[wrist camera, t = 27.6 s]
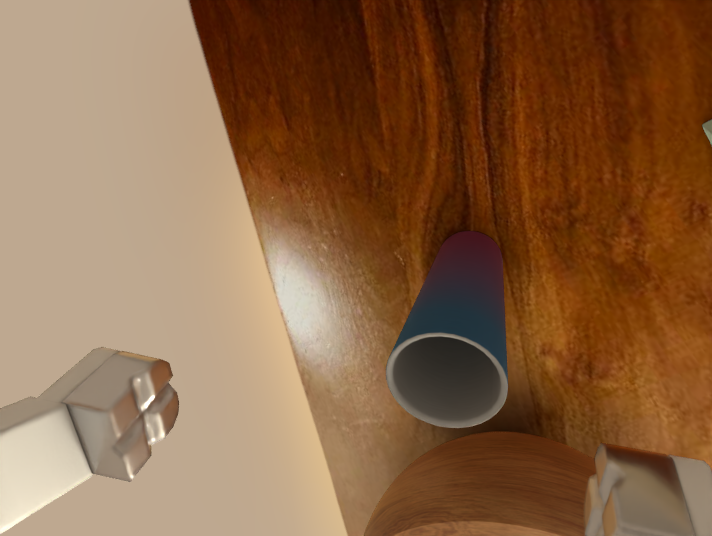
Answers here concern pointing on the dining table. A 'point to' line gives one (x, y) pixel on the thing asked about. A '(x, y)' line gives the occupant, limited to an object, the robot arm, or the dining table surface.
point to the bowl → (488, 489)
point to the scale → (708, 130)
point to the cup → (455, 338)
